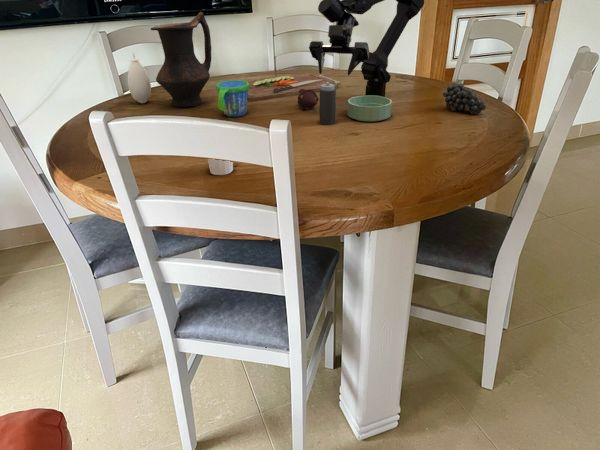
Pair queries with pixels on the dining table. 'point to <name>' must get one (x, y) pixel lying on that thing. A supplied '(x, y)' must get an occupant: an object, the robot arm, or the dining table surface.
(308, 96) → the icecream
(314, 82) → the chopping board
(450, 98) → the fruit
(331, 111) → the pepper mill
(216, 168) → the shot glass
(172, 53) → the jug
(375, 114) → the bowl
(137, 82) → the teardrop candle
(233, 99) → the snack cup
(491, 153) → the dining table surface
